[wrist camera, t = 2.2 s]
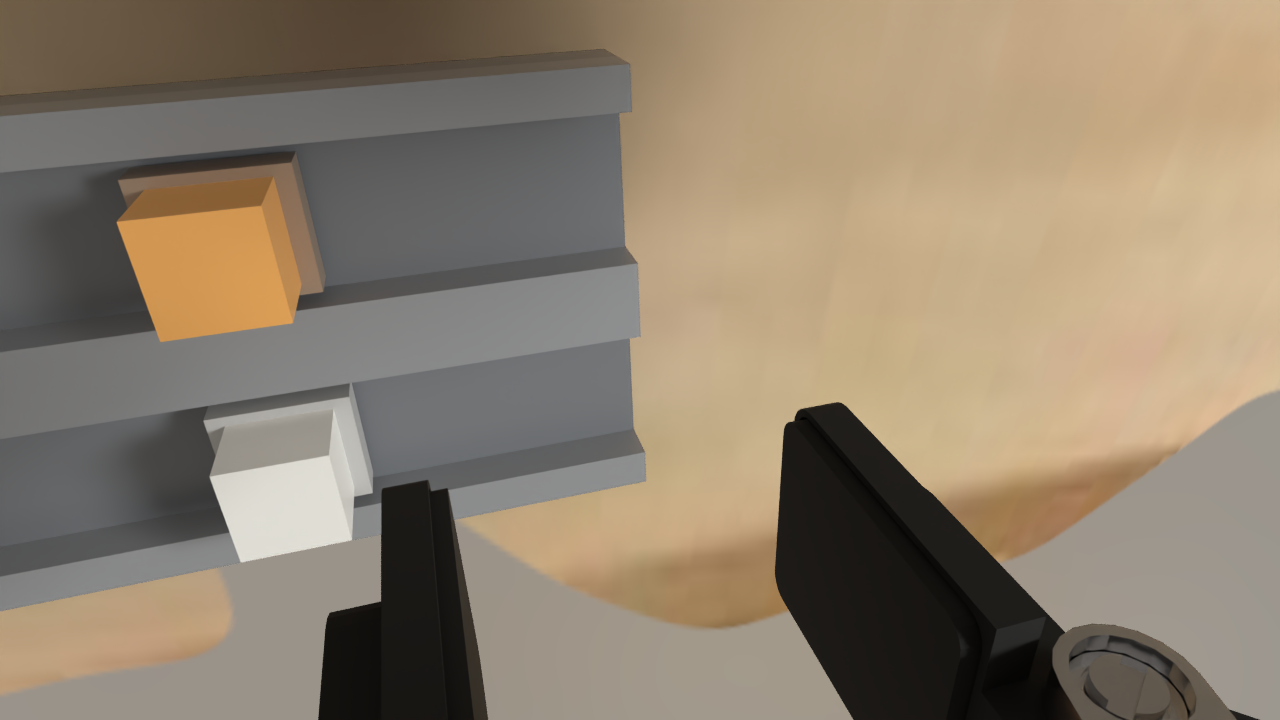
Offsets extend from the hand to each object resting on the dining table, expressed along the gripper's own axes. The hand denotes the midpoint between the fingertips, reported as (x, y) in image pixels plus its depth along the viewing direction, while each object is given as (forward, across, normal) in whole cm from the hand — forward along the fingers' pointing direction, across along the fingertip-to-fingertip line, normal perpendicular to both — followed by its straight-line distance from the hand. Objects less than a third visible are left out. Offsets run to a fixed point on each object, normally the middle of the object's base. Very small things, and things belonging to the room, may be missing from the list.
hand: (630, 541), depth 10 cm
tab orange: (+16, +7, 0) cm, 17 cm away
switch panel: (+17, +11, +4) cm, 21 cm away
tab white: (+16, +7, +7) cm, 18 cm away
